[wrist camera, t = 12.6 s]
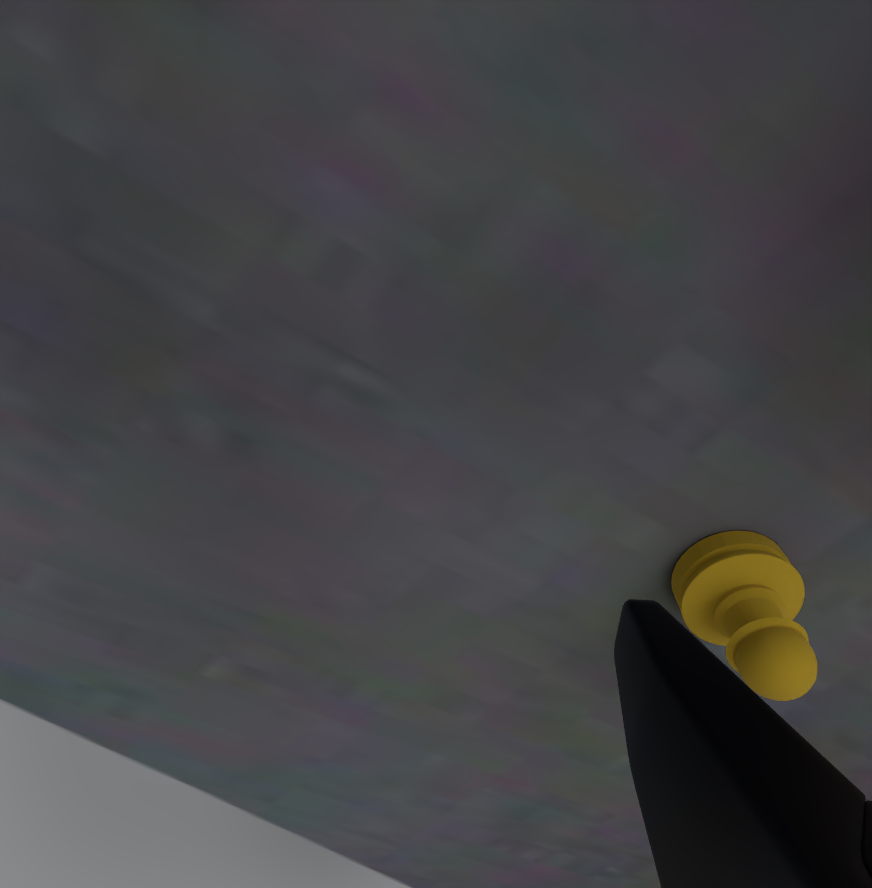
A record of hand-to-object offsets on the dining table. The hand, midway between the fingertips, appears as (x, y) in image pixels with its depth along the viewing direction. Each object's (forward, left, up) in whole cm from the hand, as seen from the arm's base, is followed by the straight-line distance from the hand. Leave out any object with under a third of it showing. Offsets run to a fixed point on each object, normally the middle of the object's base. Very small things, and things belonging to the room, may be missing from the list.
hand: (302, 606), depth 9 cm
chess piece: (+6, +13, -12) cm, 19 cm away
